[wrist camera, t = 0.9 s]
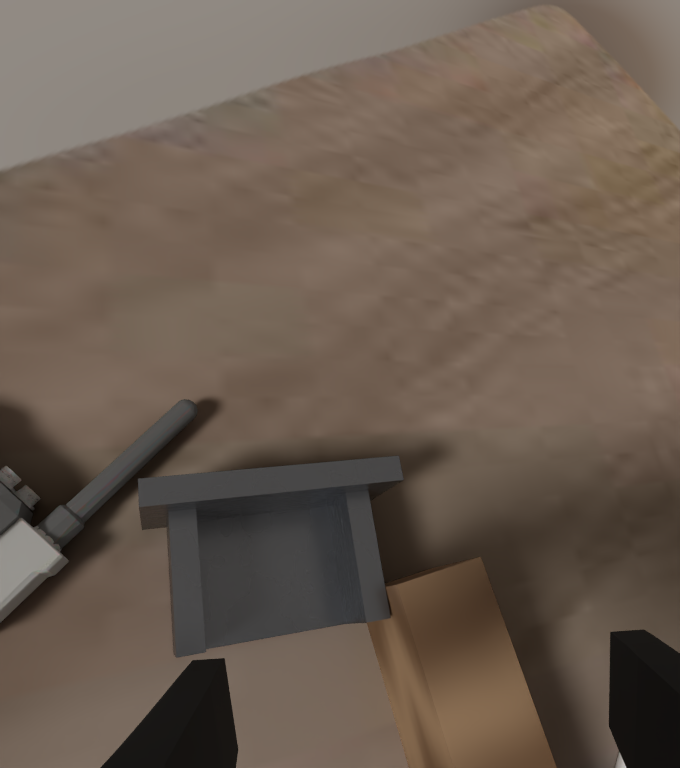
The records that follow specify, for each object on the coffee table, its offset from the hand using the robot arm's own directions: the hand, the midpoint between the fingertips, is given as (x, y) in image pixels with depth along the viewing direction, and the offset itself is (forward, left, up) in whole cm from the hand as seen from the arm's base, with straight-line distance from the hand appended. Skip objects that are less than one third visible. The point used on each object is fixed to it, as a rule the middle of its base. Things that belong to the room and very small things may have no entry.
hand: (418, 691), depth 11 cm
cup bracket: (+4, 0, -15) cm, 15 cm away
